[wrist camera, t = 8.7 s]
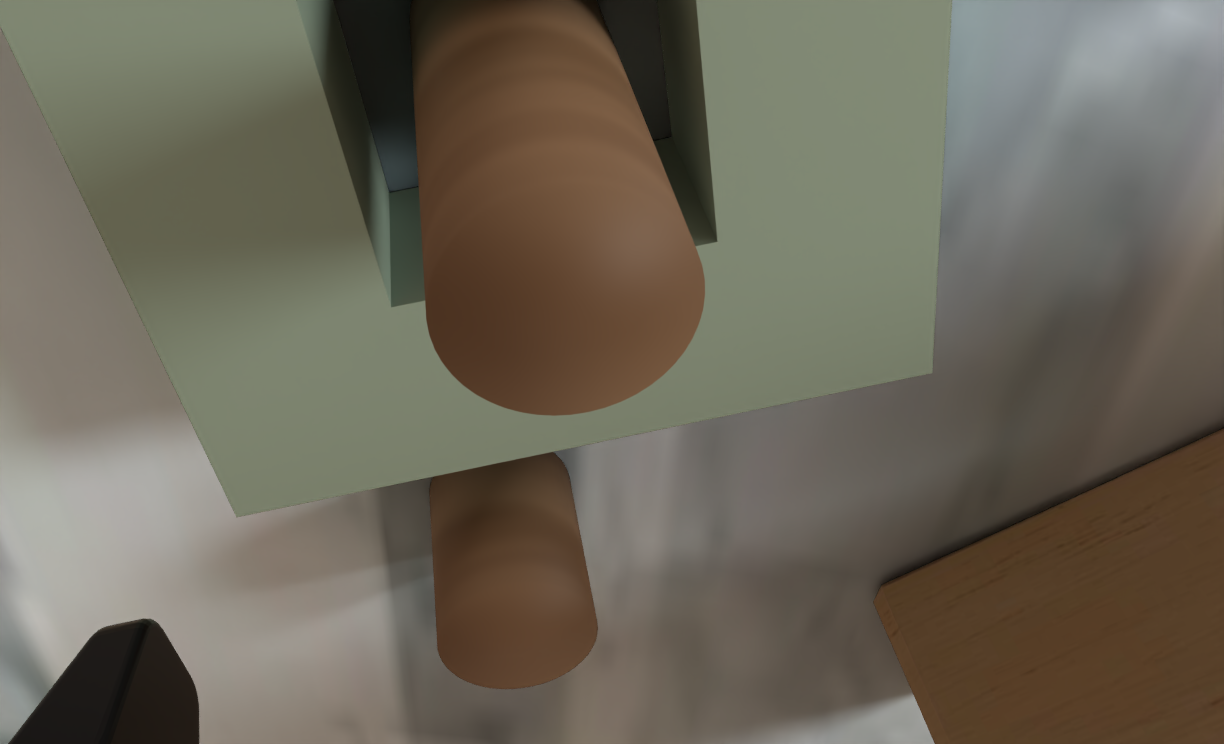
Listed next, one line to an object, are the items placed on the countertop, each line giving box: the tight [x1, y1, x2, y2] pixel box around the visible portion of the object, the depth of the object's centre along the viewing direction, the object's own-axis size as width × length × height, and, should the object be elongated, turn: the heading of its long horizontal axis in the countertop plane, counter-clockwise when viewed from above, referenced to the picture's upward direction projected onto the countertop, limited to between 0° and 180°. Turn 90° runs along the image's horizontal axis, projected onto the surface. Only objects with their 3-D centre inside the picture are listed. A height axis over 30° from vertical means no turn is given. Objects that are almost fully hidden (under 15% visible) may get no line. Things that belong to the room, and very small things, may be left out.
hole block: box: [0, 0, 952, 517], centre depth 17 cm, size 12×12×4 cm
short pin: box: [429, 452, 598, 689], centre depth 23 cm, size 3×3×4 cm
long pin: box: [410, 0, 705, 416], centre depth 16 cm, size 3×3×8 cm
